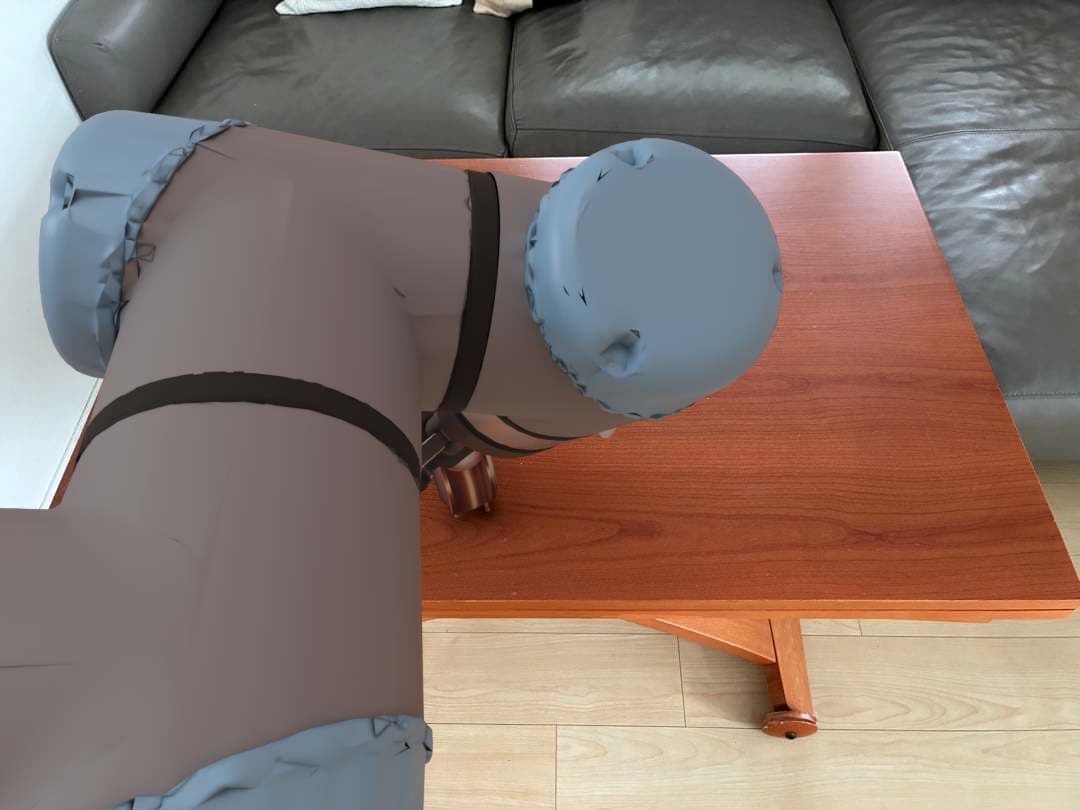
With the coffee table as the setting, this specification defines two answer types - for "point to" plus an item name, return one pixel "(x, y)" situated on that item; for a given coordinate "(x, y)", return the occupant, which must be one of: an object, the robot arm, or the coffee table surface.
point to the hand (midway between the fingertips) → (443, 427)
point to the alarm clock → (467, 483)
